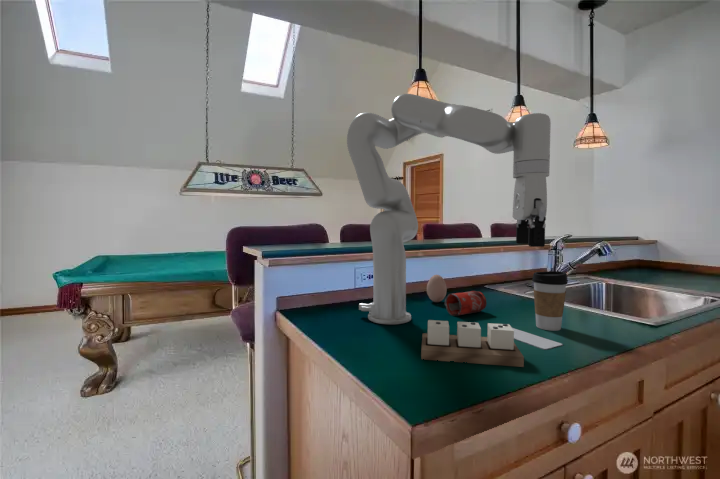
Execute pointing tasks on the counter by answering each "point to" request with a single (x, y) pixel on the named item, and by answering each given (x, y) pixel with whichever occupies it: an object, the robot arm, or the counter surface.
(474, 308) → the beverage can
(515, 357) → the board
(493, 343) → the white die
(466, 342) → the white die
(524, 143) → the robot arm
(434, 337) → the white die
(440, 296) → the egg
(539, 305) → the coffee cup
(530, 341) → the smartphone
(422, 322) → the counter surface
